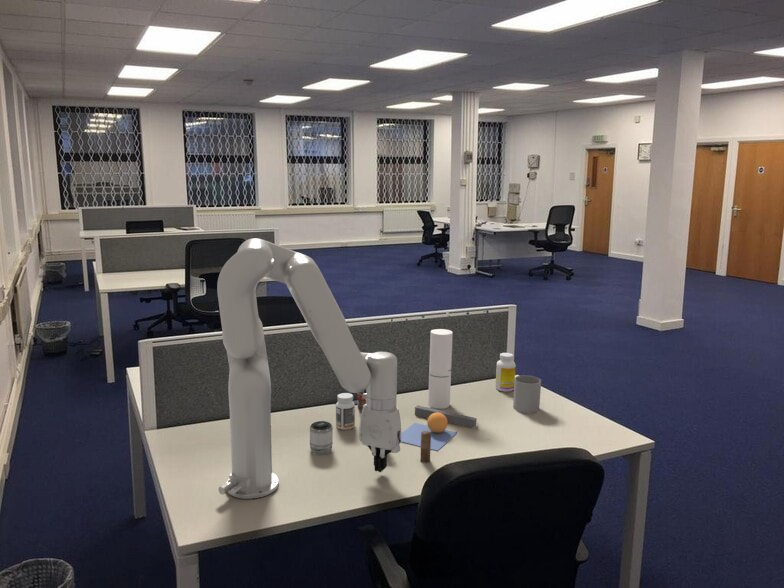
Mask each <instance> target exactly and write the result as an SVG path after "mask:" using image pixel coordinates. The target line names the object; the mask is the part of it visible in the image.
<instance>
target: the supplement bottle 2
mask: <svg viewBox="0 0 784 588" xmlns="http://www.w3.org/2000/svg"><path fill="white" fill-rule="evenodd" d="M495 367H496V370H495V389H496V390H498V391H500V392H504V393H505V392H509V393H510V392H514V384H515V378H516V367H517V366H516V363H515V361H514V354H513V353H510V352H502V353H501V352H500V354H499V360H497V362H496V366H495Z"/></svg>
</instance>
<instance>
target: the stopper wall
mask: <svg viewBox="0 0 784 588" xmlns="http://www.w3.org/2000/svg"><path fill="white" fill-rule="evenodd" d="M437 412H438V413H442V414H443V415H444V416H445V417H446V418H447V422H448V423H450V424H455V425H458V426H461V427H462V426H463V427H467V428H470V429H471V428H472V429H475V427H477V419H478V418H477V417H473V416H468V415H464V414H460V413H455V412H451V411H445V410H441V409H437V408H432V407H426V406H421V405H416V406H415V407H414V416H418V417H423V418H426V419H428V418H429V416H430V415H431V414H433V413H437Z"/></svg>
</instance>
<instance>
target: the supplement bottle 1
mask: <svg viewBox="0 0 784 588" xmlns="http://www.w3.org/2000/svg"><path fill="white" fill-rule="evenodd" d="M364 393H365V394H366V389H365V390H364V391H362V392H359V393H357V408H358V410H360V411H362V409H363V405H365V404H366V400H365V399H363V398H362V395H363V394H364Z"/></svg>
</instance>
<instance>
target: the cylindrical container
mask: <svg viewBox="0 0 784 588" xmlns="http://www.w3.org/2000/svg"><path fill="white" fill-rule="evenodd" d="M453 333H454V332H453V331H452V330H450V329H445V328H437V329H435V328H434V329H431V330H430V336H429V337H430V340H429V342H430V343H429V367H428V368H429V369H428V370H429V371H428V398H427V399H428V400H427V402H428V403H427V405H428V407H429V408H432V409H437V410H441V409H442V410H443V409H447V408H449V407H450V406H451V384H452V383H451V382H452V381H451V380H452V357H453Z"/></svg>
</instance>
